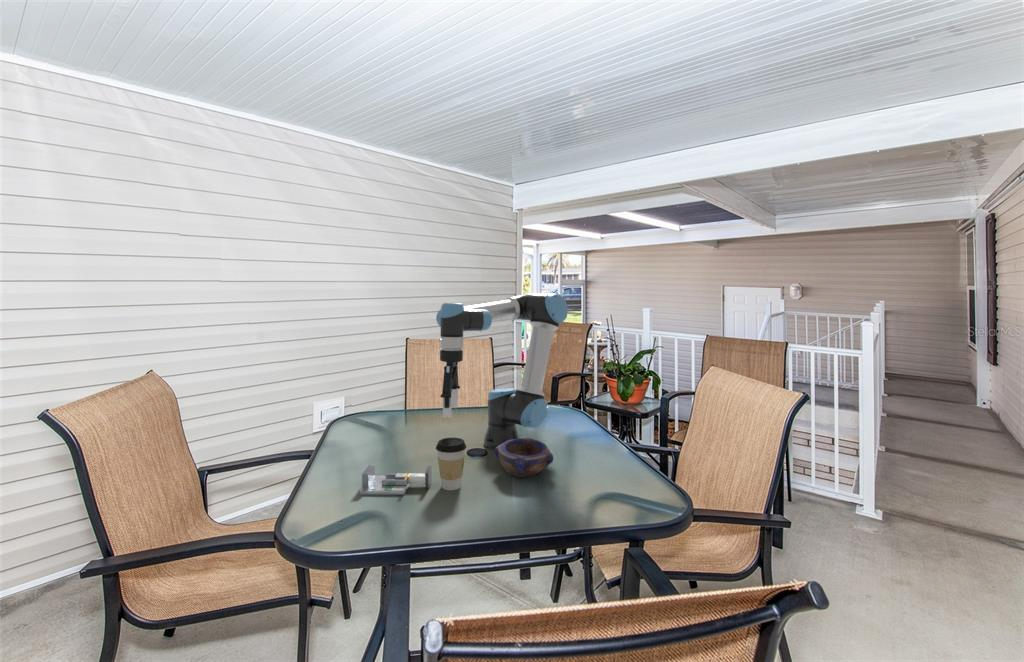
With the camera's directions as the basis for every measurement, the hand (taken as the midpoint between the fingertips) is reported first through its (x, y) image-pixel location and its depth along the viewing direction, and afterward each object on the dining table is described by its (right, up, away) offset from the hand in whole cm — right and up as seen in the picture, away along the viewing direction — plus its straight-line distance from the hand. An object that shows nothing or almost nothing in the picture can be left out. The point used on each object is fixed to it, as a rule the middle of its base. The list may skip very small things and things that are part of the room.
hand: (450, 412), depth 154 cm
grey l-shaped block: (-20, -24, -4) cm, 31 cm away
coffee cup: (+1, -24, -4) cm, 24 cm away
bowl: (+25, -23, +7) cm, 34 cm away
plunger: (-12, -23, -5) cm, 26 cm away
